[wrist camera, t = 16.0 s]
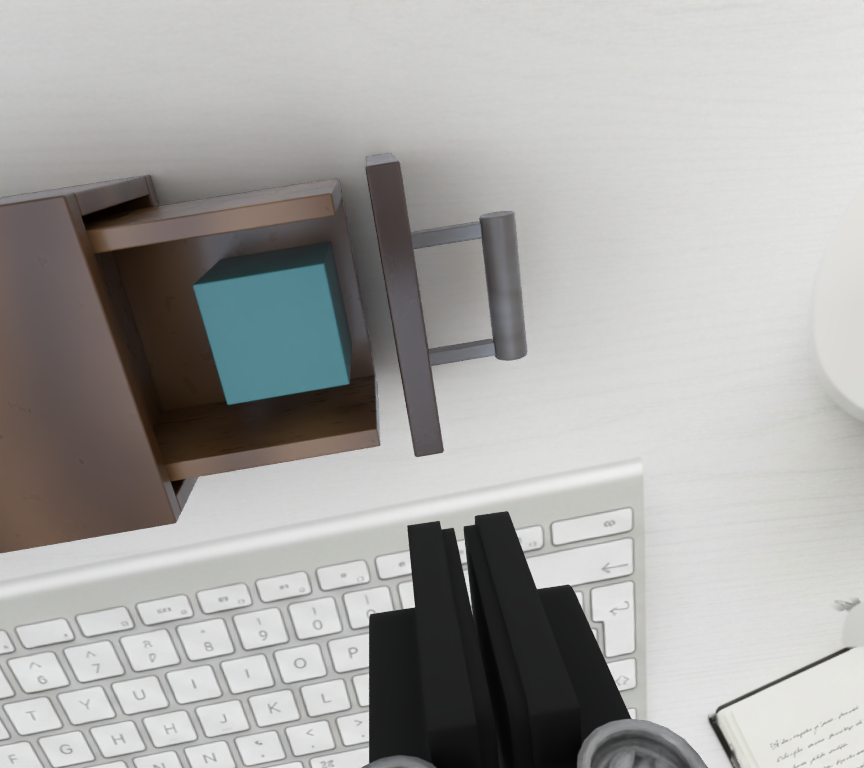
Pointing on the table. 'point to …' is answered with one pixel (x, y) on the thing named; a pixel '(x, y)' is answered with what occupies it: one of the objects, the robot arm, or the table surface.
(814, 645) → the table surface
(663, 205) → the table surface
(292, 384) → the block
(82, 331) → the cabinet
